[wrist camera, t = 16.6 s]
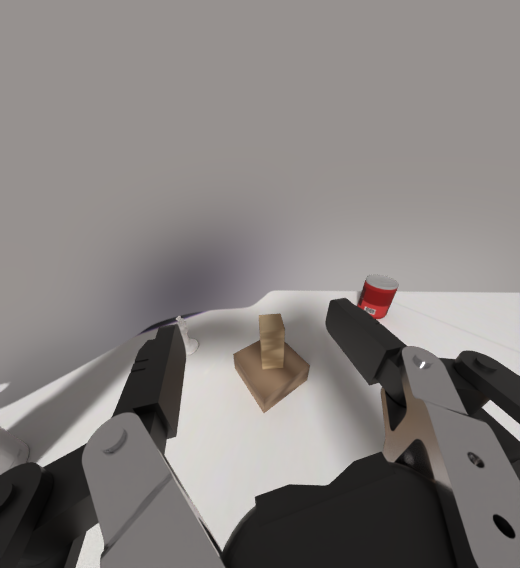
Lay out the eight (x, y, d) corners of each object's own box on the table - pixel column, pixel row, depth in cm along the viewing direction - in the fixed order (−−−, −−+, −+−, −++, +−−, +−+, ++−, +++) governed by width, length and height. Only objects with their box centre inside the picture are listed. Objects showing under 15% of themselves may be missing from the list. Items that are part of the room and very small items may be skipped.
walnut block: (263, 414, 33) (263, 399, 31) (235, 369, 41) (233, 354, 39) (306, 380, 39) (309, 365, 36) (274, 346, 47) (274, 332, 44)
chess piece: (185, 338, 49) (176, 308, 44) (202, 342, 48) (195, 311, 43) (173, 353, 45) (161, 321, 40) (191, 357, 44) (181, 326, 39)
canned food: (391, 319, 54) (405, 287, 49) (363, 320, 54) (375, 287, 49) (376, 304, 61) (388, 274, 55) (352, 304, 61) (361, 274, 55)
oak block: (262, 369, 36) (260, 330, 31) (260, 352, 39) (258, 315, 34) (283, 367, 36) (284, 328, 31) (279, 350, 39) (280, 313, 34)
